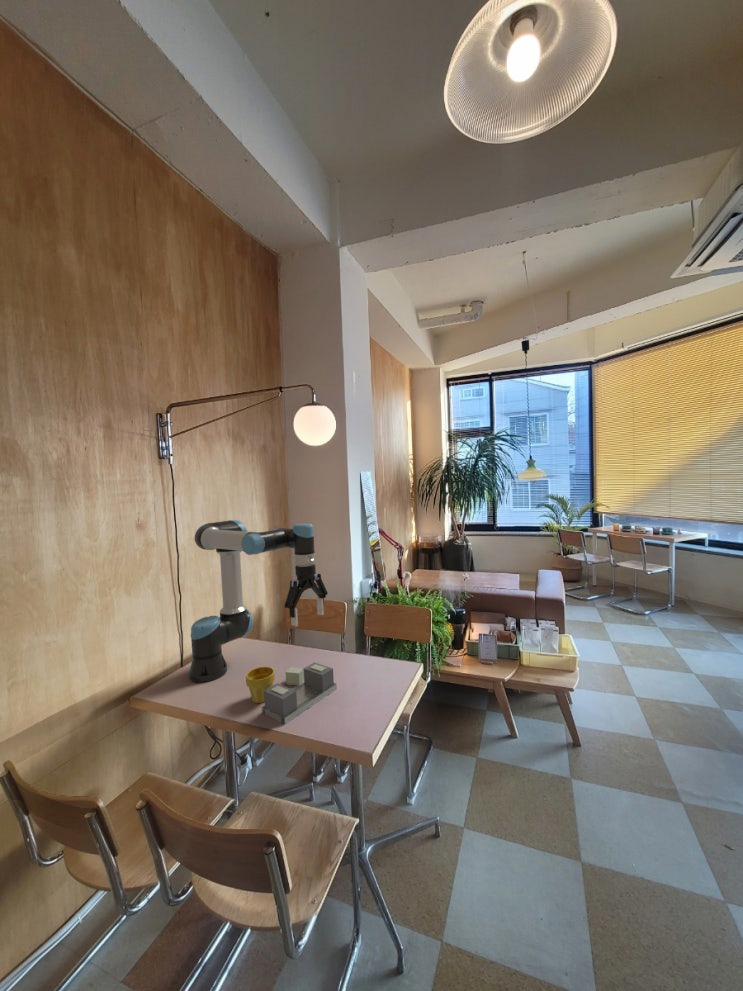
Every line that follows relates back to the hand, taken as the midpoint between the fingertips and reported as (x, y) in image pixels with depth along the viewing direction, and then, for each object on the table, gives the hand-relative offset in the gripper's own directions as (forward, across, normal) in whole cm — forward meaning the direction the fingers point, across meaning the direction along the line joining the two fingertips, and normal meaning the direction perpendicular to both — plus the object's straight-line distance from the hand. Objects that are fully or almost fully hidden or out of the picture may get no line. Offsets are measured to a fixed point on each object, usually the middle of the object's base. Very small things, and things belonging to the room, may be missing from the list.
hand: (308, 619), depth 149 cm
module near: (+26, -16, -1) cm, 30 cm away
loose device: (+28, +2, +11) cm, 30 cm away
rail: (+28, -6, -1) cm, 29 cm away
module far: (+26, +3, -1) cm, 26 cm away
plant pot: (+28, -13, +13) cm, 34 cm away
